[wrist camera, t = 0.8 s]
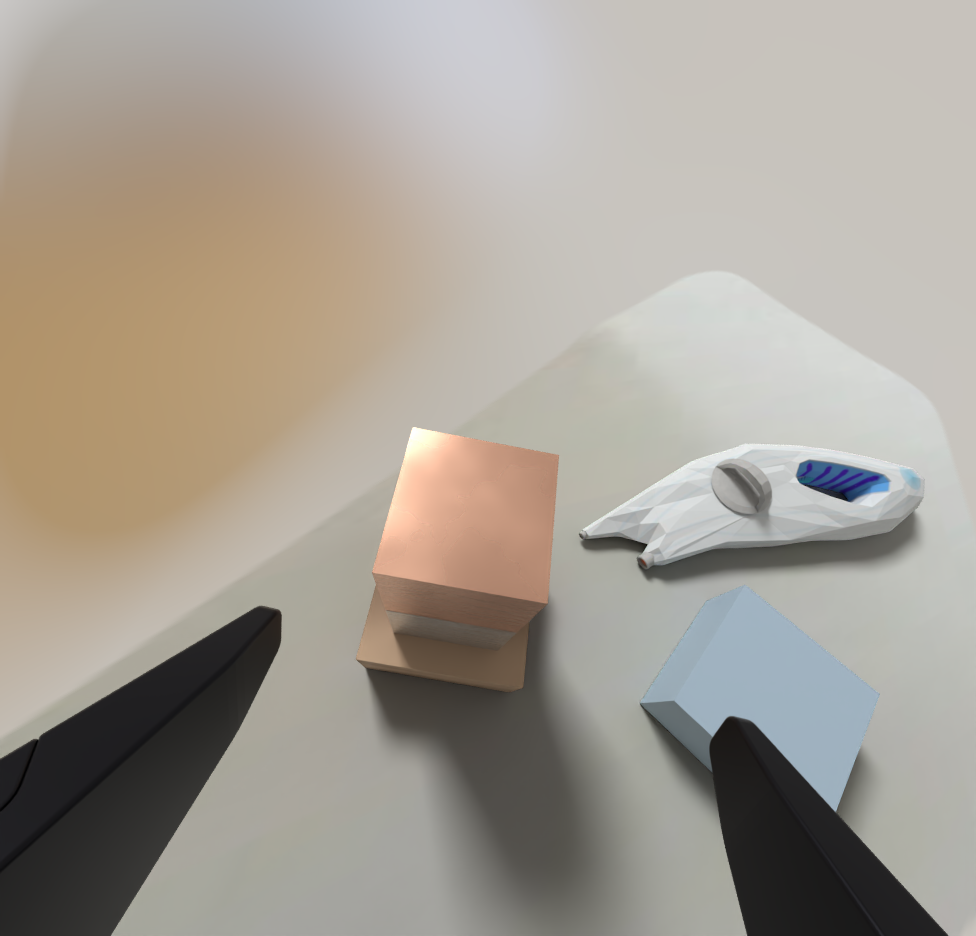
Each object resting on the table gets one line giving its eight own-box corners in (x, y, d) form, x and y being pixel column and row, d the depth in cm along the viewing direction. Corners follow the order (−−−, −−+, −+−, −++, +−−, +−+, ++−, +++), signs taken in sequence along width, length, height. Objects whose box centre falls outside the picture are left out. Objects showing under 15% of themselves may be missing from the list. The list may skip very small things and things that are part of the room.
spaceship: (861, 447, 33) (920, 412, 29) (915, 533, 30) (990, 506, 26) (558, 477, 28) (579, 440, 24) (586, 581, 25) (616, 558, 21)
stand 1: (509, 692, 22) (523, 688, 19) (365, 667, 21) (355, 659, 18) (524, 554, 25) (537, 531, 22) (400, 531, 25) (397, 506, 22)
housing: (497, 650, 19) (547, 603, 11) (393, 632, 19) (372, 572, 11) (509, 551, 21) (558, 455, 14) (417, 534, 21) (412, 427, 13)
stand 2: (764, 823, 20) (824, 841, 17) (639, 703, 22) (673, 700, 19) (820, 697, 23) (879, 694, 20) (706, 601, 25) (745, 584, 22)
